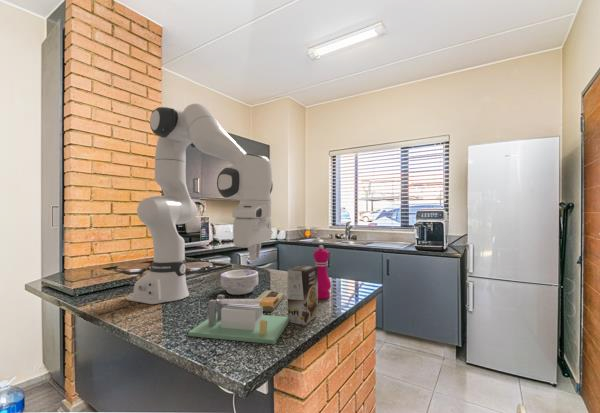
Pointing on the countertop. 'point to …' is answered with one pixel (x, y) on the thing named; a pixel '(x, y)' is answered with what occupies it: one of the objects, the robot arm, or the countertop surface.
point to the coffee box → (302, 294)
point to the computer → (271, 294)
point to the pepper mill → (322, 272)
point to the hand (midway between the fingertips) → (254, 259)
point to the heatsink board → (245, 334)
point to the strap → (250, 301)
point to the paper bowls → (239, 281)
